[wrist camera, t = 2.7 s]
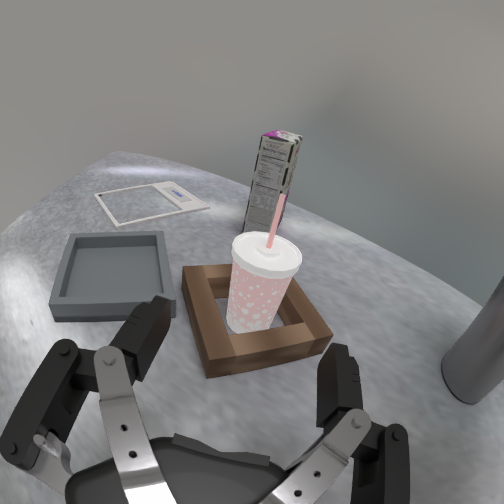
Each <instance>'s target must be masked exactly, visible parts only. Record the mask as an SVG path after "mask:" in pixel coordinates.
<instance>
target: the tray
mask: <svg viewBox="0 0 504 504" xmlns="http://www.w3.org/2000/svg"><path fill="white" fill-rule="evenodd" d="M155 295H158V296H161V297H164V298H167V299H170V300H171V318H173V317H175V309H176V299H175V294H174V289H173V284H172V279H171V274H170V268H169V263H168V257H167V251H166V245H165V239H164V233H163V231H142V232H107V233H80V234H70V237H69V240H68V242H67V245H66V248H65V251H64V253H63V256H62V259H61V262H60V265H59V268H58V272H57V275H56V278H55V282H54V285H53V289H52V292H51V296H50V300H49V307H50V310H51V312H52V315H53V317H54V320H55V322H96V321H124V320H127V318H128V317H129V316H130V314H131V312H132V311H133V310H134V308H135V307H136V306H138V305H139V304H141V303H142V302H146V303H149V304H150V302H151V301H152V299H153V298H154V296H155Z"/></svg>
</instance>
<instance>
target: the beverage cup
mask: <svg viewBox="0 0 504 504" xmlns="http://www.w3.org/2000/svg"><path fill="white" fill-rule="evenodd" d="M285 197H286V195H285V194H280V196H279V200H278V203H277V207H276V211H275V215H274V219H273V222H272V226H271V230H270V233H267V232H257V231H253V232H246V233H242V234H240V235H239V236H237V237H236V238H235V240H234V242H233V244H232V248H233V249H232V251H231V252H232V256H233V265H232V274H231V282H230V290H229V299H228V307H227V316H226V319H227V324H228V325H229V327H230V328H231V330H232V331H234V332H235V333H237V334H240V333H246V332H253V331H259V330H265V329H269V327H270V325H271V322H272V320H273V318H274V316H275V314H276V312H277V310H278V307H279V305H280V303H281V301H282V299H283V297H284V294H285V292H286V290H287V288H288V286H289V283H290V281H291V279H292V277H293V275H294V274H295V273H296V272H297V271H298V270H299V266H300V265H301V263H302V254H301V253H300V251H299V249H298V248H297V247H296V246H295V245H294V244H292V243H291V242H290V241H288V240H286V239H284V238H282V237H280V236H278V235H275V233H276V229H277V226H278V222H279V219H280V215H281V211H282V208H283V204H284V200H285Z"/></svg>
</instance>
